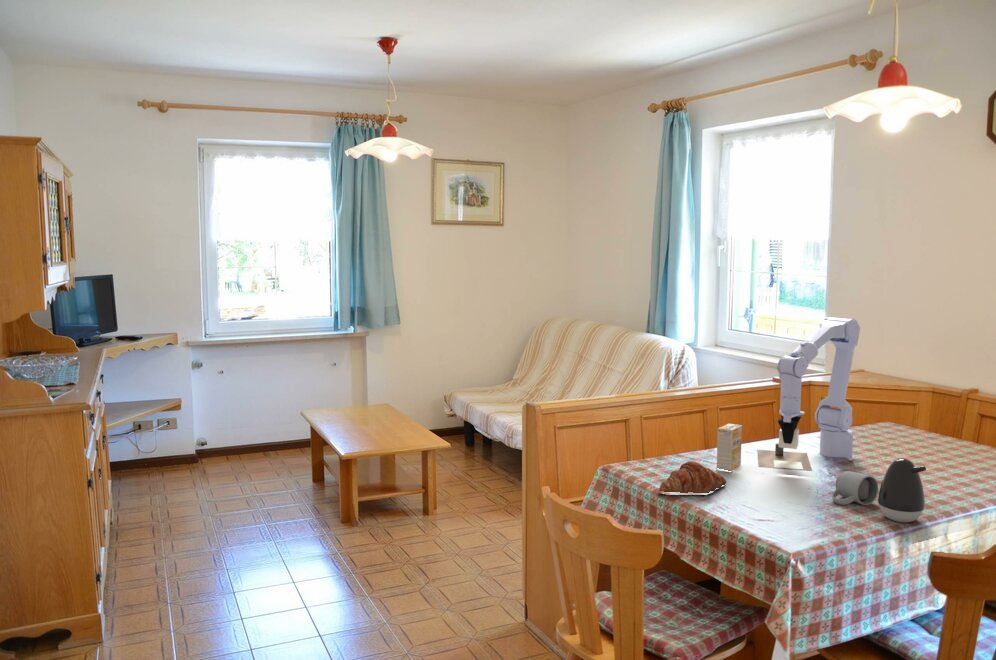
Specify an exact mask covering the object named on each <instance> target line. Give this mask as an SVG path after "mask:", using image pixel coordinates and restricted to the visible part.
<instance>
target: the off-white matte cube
mask: <svg viewBox="0 0 996 660" xmlns="http://www.w3.org/2000/svg"><path fill="white" fill-rule="evenodd" d="M799 429H800V428H796V429H795V431H794V436H793V440H792V443H791V444H788V443H784V441H783V435H782V430H781V428H780V429H779V431H778V443H779V447H781V448H784V449H792V450H797V449H798V447H799V438H800V430H799Z"/></svg>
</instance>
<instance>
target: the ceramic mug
mask: <svg viewBox="0 0 996 660" xmlns="http://www.w3.org/2000/svg"><path fill="white" fill-rule="evenodd" d="M878 495H879V483H878V481H877V479H876V478H875V476H872V475H868V474H864V473H860V472H855V471H850V470H849V471H847V470H846V471H843V472H841V473H840V474H838V476H837V479H836V480H835V490H834V491H833V492H832V494H831V498H832V501H833V502H834V503H835V504H837V505H840V504H842V505H849V504H851V503H853V502H854V503H857V504H859V505H862V506H869V505H871V504H873V503H874V502H875V501H876V499H877V497H878ZM838 496H840V497H843V498H840V499H839V498H837V497H838Z"/></svg>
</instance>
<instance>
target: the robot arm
mask: <svg viewBox="0 0 996 660" xmlns="http://www.w3.org/2000/svg"><path fill="white" fill-rule="evenodd" d="M860 331H861V327H860V324H859V321H858V320H857V319H856V318H843V317H832V316H826V317H824V318H823V320H822V321H820V323H819V329H818V330H817V332H815V333H814V334H813V336H812V337H811V338H810V339H809V341H802V342H800V344H799V345H798V346H797V347H796V348H795V349H794V350H793V351H792V352H791V353H789V355H784V356H783V357H781V358H780V359H779V360H778V363H777V365H776V368H777V369H776V370H777V372H778V375H779V377H778V379H779V380H780V395H779V396H780V398H779V399H780V401H779V404H780V405H779V406H780V407H779V411H778V413H779V415H780V417H781V418H778V420H777V422H778V425H779V427H780V429H781V430H782V435H783V441H784V443H788V444H791V443H792V440H793V436H794V431H795V429H798V428H797V427H798V425H799V422H800V420H801V418H802V416H804V415H805V413H806V412H805V411H801V406H802V405H801V404H802V402H801V400H802V379H803V376H805V375H806V372H807V369H808V367H809V365H810V363H811V362H812V361H813V360H814V359H815V358H816V357H817V356H818V355H819V349H821V347H823V346H824V345H826V344H827V343H828V342H830V344H833V346H834V347H835V353H834V358H833V364H832V370H831V374H830V381H829V387H828V391H827V396H826V397H825V398H823V399H822V400H820V401H819V403H818V406H817V409H816V411H815V413H814V420H815V423H816V424H817V425H818V428H820V435H819V436H820V437H819V438H820V439H819V442H820V443H819V454H820V455H821V456H824V457H829V458H846V459H847V461H853V453H854V452H853V451H854V450H853V448H854V447H853V446H854V445H853V444H854V443H853V442H854V437H853V436H854V435H853V430H851V429H850V428H851V426H852V424H853V406H852V405H850V403H849V402H848V400H846V397H847V394H848V393H847V392H848V388H849V387H848V386H849V382H850V381H849V380H850V376H851V371H852V364H853V359H854V358H853V357H854V354H855V347H857V346H858V341H859V338H860V333H861V332H860Z"/></svg>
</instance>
